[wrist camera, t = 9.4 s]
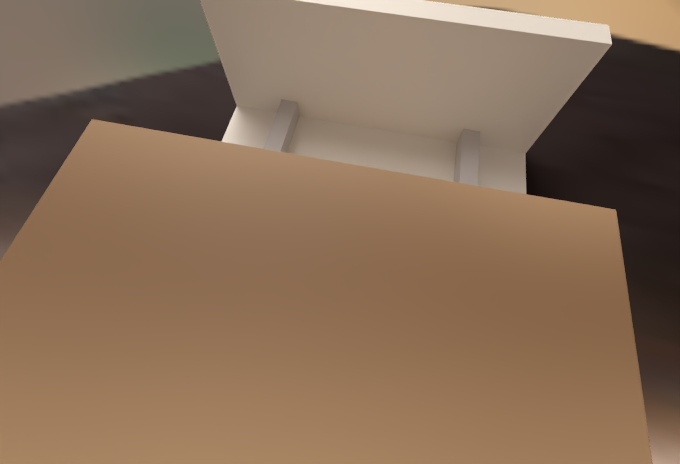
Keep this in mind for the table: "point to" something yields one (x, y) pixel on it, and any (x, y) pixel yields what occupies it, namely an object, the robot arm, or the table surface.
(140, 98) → the table surface
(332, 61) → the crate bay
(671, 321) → the table surface
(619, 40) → the table surface
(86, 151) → the tan wooden block
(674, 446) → the table surface
